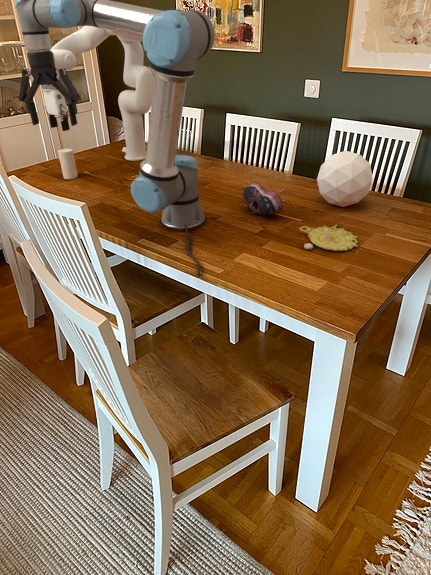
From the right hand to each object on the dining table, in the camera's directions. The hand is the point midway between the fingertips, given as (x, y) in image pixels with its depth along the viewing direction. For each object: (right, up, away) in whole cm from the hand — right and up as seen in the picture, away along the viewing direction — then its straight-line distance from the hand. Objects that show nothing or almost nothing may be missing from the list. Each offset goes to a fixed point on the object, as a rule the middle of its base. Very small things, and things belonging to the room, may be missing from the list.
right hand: (55, 124), depth 144 cm
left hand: (-15, +15, +46) cm, 51 cm away
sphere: (+100, -22, +22) cm, 104 cm away
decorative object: (+89, -38, -2) cm, 96 cm away
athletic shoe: (+68, -25, +19) cm, 75 cm away
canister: (-14, -3, +58) cm, 59 cm away
